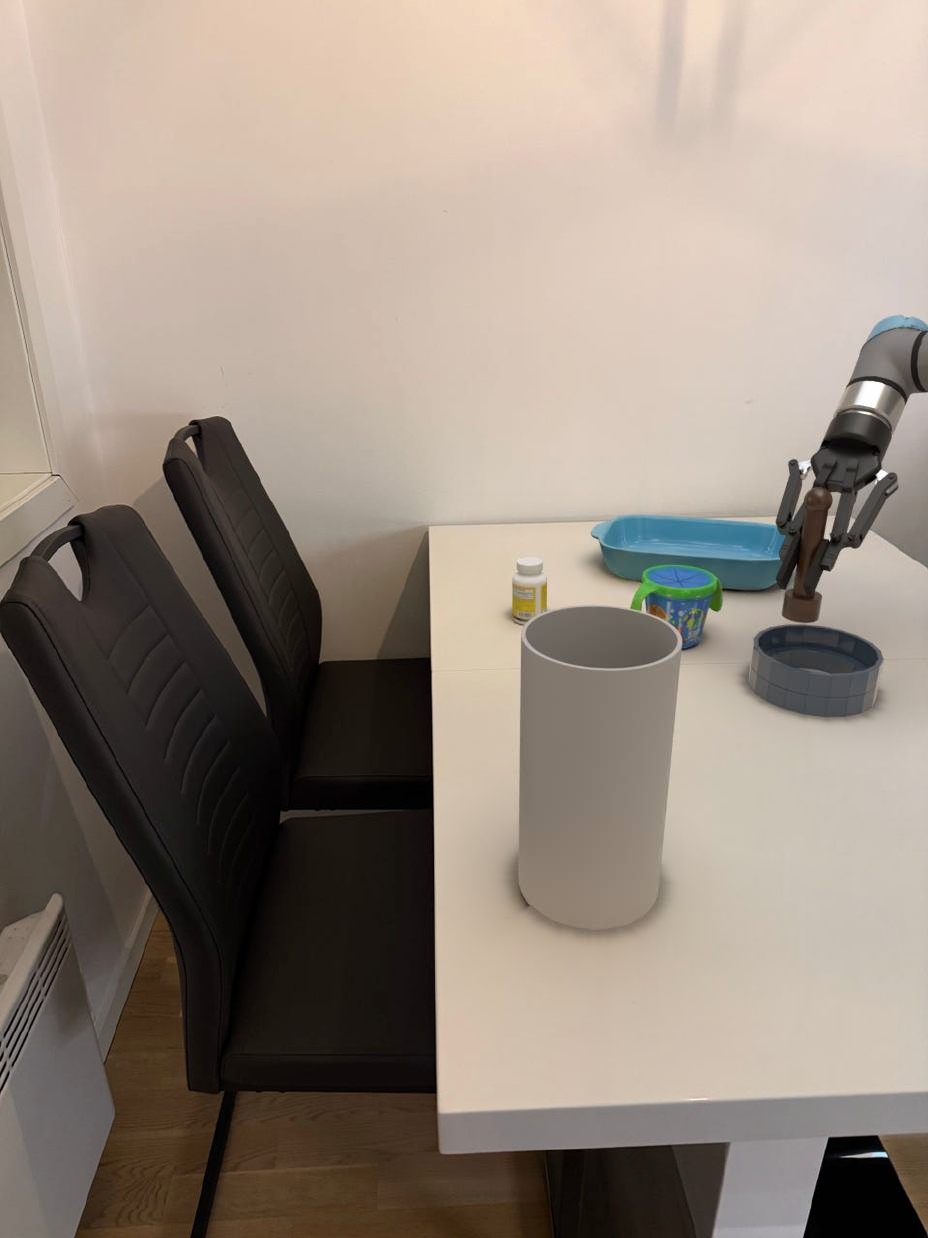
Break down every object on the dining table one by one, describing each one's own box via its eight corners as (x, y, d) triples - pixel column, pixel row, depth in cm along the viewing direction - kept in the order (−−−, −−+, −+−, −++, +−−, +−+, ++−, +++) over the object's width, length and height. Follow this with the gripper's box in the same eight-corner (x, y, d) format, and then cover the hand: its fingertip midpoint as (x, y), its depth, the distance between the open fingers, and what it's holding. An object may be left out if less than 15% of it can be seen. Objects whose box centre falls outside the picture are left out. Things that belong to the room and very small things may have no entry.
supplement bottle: (536, 610, 136) (537, 553, 132) (552, 622, 131) (554, 563, 127) (506, 616, 134) (506, 558, 130) (521, 628, 129) (522, 568, 125)
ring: (885, 685, 110) (894, 640, 107) (858, 736, 99) (868, 687, 96) (768, 658, 118) (774, 615, 116) (731, 701, 107) (737, 655, 104)
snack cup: (697, 619, 131) (703, 557, 127) (740, 645, 122) (748, 580, 118) (609, 635, 126) (613, 571, 122) (646, 663, 117) (651, 595, 113)
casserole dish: (578, 581, 147) (580, 542, 145) (601, 543, 167) (603, 509, 164) (802, 604, 136) (808, 562, 133) (799, 561, 156) (804, 523, 153)
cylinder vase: (645, 843, 81) (666, 604, 71) (669, 939, 70) (698, 670, 60) (516, 841, 82) (519, 605, 72) (519, 936, 70) (523, 670, 61)
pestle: (822, 614, 106) (844, 486, 100) (813, 625, 103) (835, 494, 97) (787, 606, 109) (806, 481, 102) (777, 618, 105) (795, 489, 99)
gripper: (930, 452, 104) (865, 616, 99) (804, 438, 114) (738, 587, 109) (928, 415, 99) (858, 587, 94) (795, 403, 108) (725, 559, 103)
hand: (794, 587), depth 101 cm, fingers closed on pestle, 3 cm apart
